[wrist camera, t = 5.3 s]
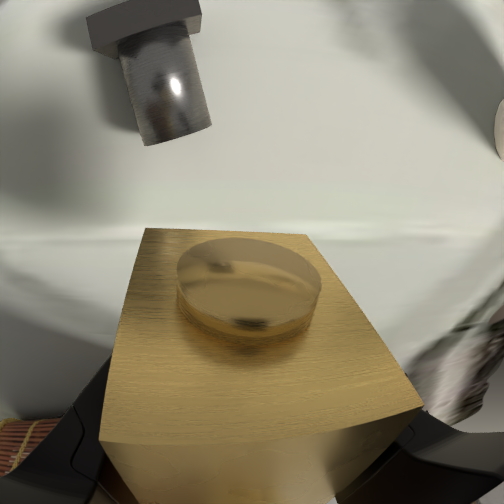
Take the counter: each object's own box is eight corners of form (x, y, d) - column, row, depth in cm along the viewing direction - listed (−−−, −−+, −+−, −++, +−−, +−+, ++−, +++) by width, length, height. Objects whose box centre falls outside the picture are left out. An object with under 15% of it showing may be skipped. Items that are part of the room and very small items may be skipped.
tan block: (269, 382, 12) (309, 515, 7) (157, 385, 11) (160, 530, 6) (310, 215, 9) (443, 379, 3) (145, 206, 8) (84, 414, 2)
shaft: (221, 118, 14) (229, 124, 11) (138, 144, 14) (123, 157, 11) (193, 6, 11) (193, -18, 8) (108, 32, 11) (86, 17, 8)
